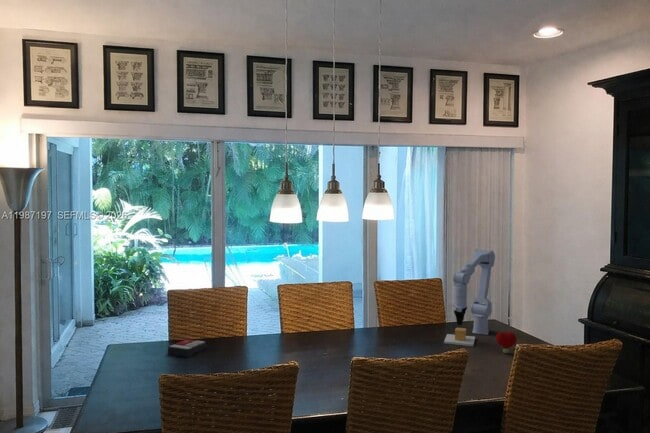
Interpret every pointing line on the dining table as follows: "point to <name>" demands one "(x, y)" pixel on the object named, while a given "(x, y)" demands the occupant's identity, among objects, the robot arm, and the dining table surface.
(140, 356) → the dining table surface
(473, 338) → the plate
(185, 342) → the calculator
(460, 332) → the tilted mustard cube
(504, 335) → the dark red rounded lump
